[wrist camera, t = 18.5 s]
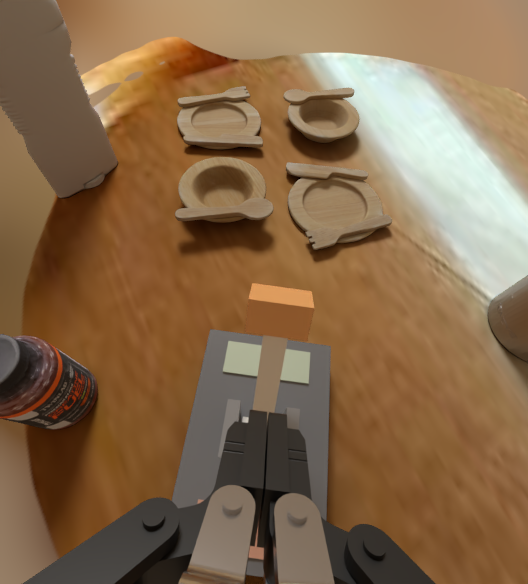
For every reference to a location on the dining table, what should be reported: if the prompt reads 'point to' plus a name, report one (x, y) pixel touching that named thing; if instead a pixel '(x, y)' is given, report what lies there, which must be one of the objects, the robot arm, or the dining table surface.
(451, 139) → the dining table surface
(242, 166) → the tableware set
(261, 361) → the breaker lever
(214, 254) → the dining table surface
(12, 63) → the tall pale column
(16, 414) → the supplement bottle
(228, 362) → the switch block
